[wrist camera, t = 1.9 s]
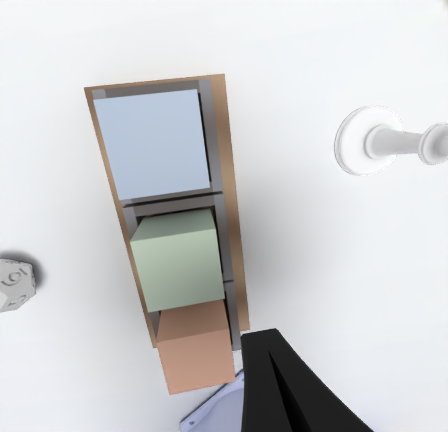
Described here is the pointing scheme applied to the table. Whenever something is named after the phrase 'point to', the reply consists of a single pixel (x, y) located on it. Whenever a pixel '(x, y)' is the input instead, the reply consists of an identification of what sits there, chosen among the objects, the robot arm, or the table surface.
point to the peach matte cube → (195, 346)
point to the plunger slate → (154, 143)
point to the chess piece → (385, 141)
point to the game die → (15, 284)
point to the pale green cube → (178, 260)
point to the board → (190, 191)
